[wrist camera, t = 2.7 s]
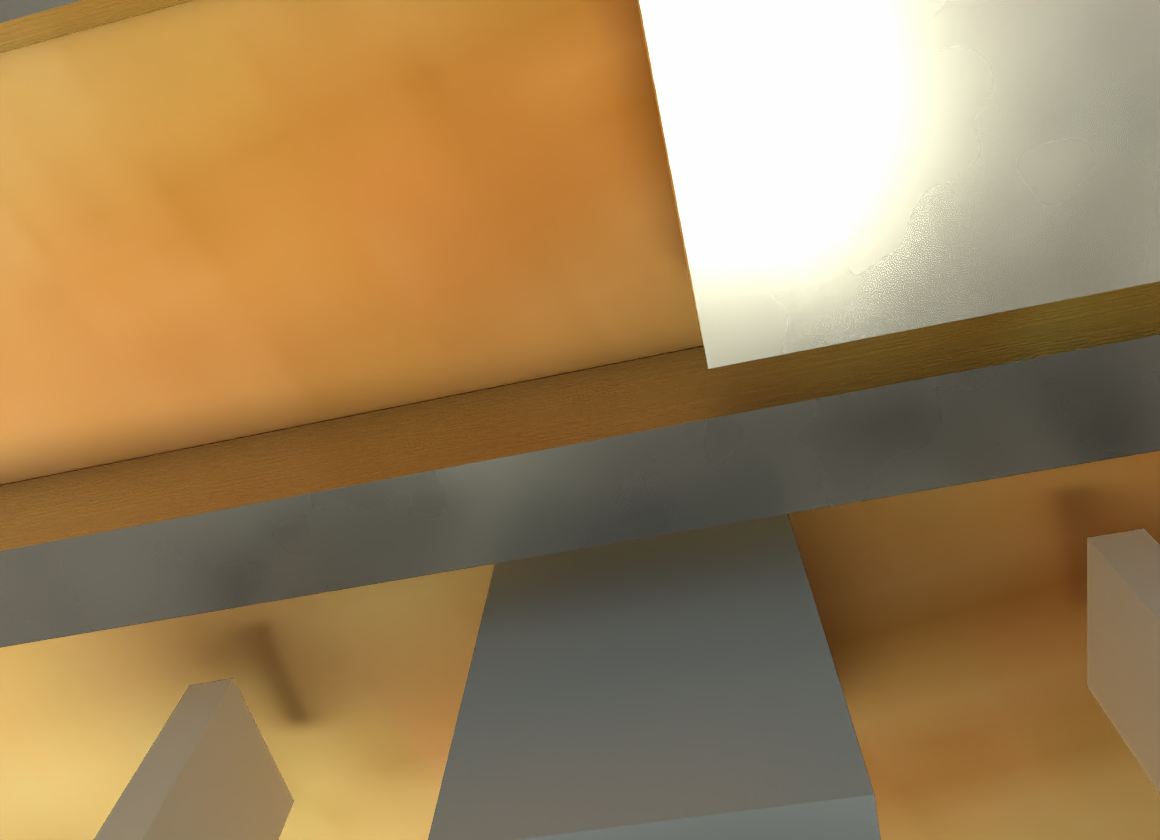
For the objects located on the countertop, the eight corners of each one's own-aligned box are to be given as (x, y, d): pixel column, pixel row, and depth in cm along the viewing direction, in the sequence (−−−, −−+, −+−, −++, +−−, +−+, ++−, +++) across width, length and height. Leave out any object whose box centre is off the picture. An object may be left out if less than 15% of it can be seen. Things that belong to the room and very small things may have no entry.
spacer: (781, 493, 14) (874, 794, 9) (817, 716, 16) (913, 1080, 11) (500, 542, 15) (424, 850, 9) (565, 751, 17) (534, 1111, 11)
